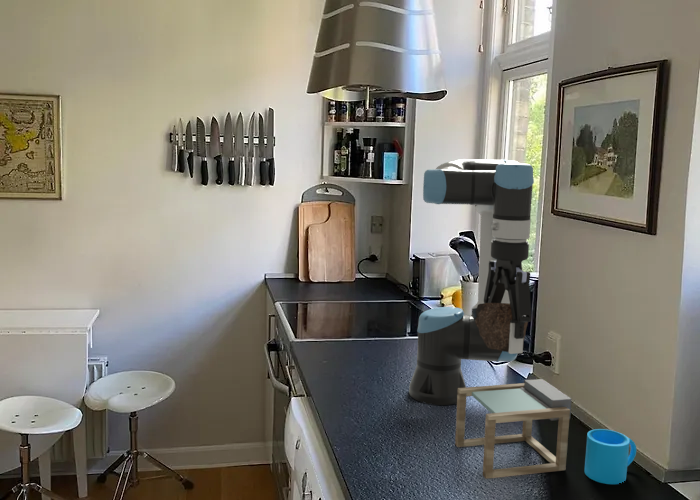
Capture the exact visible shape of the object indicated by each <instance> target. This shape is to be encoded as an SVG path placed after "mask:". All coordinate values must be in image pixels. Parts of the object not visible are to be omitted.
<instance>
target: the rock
mask: <svg viewBox="0 0 700 500" xmlns="http://www.w3.org/2000/svg"><path fill="white" fill-rule="evenodd" d="M476 316H477V317H476V320H475V322H476V325H477V327H478V328H479V332H480V335H481V337H482V338H483V340H484V342H485V344H486V346H487V347H488V348H491V349H498V350H500V351H504V352H509V336H510V320H512V319H513V318H512V312H511V306H510V304H508V303H483V304H478V305H477V309H476ZM528 323H529V322H525V324H524V337H523V341H525V339H526V338H525V337H526V333H527V332H526V331H527V327H528Z"/></svg>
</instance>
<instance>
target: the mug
mask: <svg viewBox="0 0 700 500" xmlns="http://www.w3.org/2000/svg"><path fill="white" fill-rule="evenodd" d="M629 450H630V452H629ZM636 455H637V445H636V443H635V441H633V439H631V438H630V437H628V436H627V435H625V434H624V433H621V432H618V431H615V430H612V429H607V428H597V429H596V428H595V429H591V430H589V431H588V432H587V435H586V447H585V459H584V474H585V475H586V476H587V477H588V478H589V479H591V480H593V481H595V482H597V483H600V484H606V485H620V484H619V483H621V484H622V482H623V483H625V482H626V480H627V474H628V473H627V472H628V467H629V466H630V465H631V464H632V462H633V461H634V459H635V458H636ZM624 481H625V482H624Z"/></svg>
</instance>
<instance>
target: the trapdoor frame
mask: <svg viewBox="0 0 700 500" xmlns="http://www.w3.org/2000/svg"><path fill="white" fill-rule="evenodd" d="M521 387H523V388H524V382H522V383H510V384H509V383H507V384H496V385H495V384H494V385H481V386H479V385H478V386H466V387H465V388H458V393H457V404H456V413H455V415H456V416H455V418H456V419H455V421H456V422H455V437H454V438H455V440H454V442H455V443H454V445H455V446H456V447H457V448H465V447H474V446H476V447H477V446H483V460H482V462H483V463H482V476H483V477H484V479H495V478H506V477H513V476H515V477H516V476H523V475H533V474H541V473H551V472H561V471H566V468H567V467H566V466H567V457H568V455H567V453H568V442H569V441H568V440H569V439H568V438H569V427H570V419H569V417H570V418H571V415H570V409H568V408H567V407H560V408H548V409H536V410H524V411H512V412H501V413H491V412H489V413H486V414H485V422H484V423H485V425H484V426H485V427H484V437H474V438H465V433H466V431H465V429H466V416H467V415H466V411H467V397H473V396H472V392H479V391H492V390H505V389H518V388H521ZM549 418H559V420H558V422H557V425H558V426H557V438H556V440H557V441H556V451H555V452H556V453H555V455H554V454H553V453H552V452H550V450H549V449H547V448H546V447H545V446H544V445H543V444H541V443H540V442H539V441H538V440H537V439H535V438H534V437H533V436H532V434H533V433H532V432H533V431H532V429H533V421H535V420H550V419H549ZM513 422H522V431H521V432H522V433H518V434H517V433H516V434H507V435H505V434H504V435H497V436H496V426H497V425H496V424H503V423H513ZM515 442H516V443H517V442H526V443H527V444H528V445H529V446H531V447H532V448H533V450H535V451H536V452H537V453H538V454H539V455H540V456H542V457H543V458H544V459H545V460H546V461H547V462H548V463H542V464H534V465H523V466H514V467H504V468H496V469H494V457H495V444H504V443H515Z"/></svg>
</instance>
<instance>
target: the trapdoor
mask: <svg viewBox="0 0 700 500" xmlns="http://www.w3.org/2000/svg"><path fill="white" fill-rule="evenodd" d="M523 383H524V388H523V387H521V388H518V389H505V390H492V391H479V392H472V396H471V397H473V399H475V400H476V401H477V402H478V403H480V404H481V406H482V407H484V408H485V409H486V410H487V411H488V412H489V413H501V412H512V411H524V410H536V409H548V408H560V407H567V408H568V409H570V417H569V420H571V413H572V412H571V411H572V401H573V400H572V399H573V398H571V397H569V395H567V394H565V393H563V392H562V391H561V390H560V389H558V388H556V387H555V386H553V385H552V384H550V383H549V382H547V381H546V380H544V379H543V378H539V379H524V382H523ZM548 420H550V421H551V422H553V421H559V418H549V419H548Z"/></svg>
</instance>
